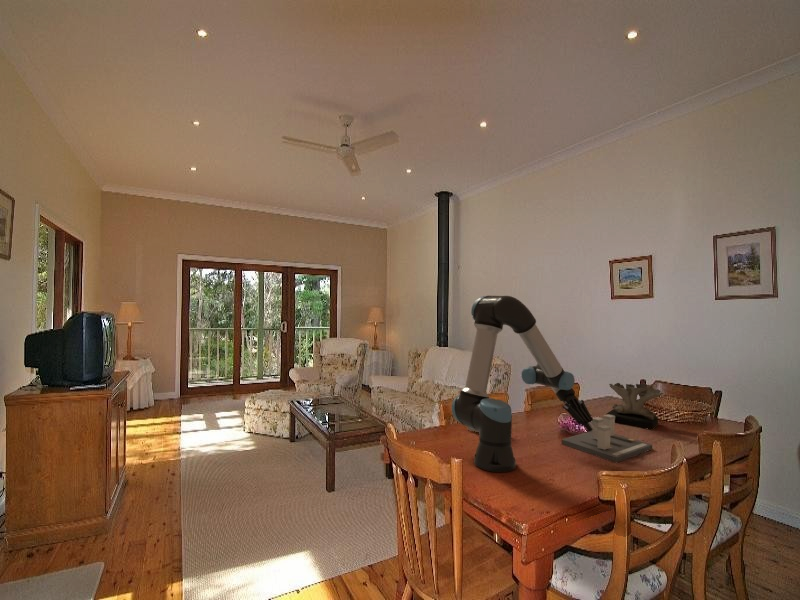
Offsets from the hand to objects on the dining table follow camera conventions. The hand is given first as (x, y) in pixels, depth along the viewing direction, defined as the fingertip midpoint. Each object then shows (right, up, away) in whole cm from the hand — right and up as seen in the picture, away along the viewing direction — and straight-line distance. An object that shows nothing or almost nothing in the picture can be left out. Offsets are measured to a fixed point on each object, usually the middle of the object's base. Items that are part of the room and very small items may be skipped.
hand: (597, 437), depth 168 cm
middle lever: (+4, -3, +9) cm, 11 cm away
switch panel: (+7, -6, +6) cm, 11 cm away
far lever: (+12, -4, +14) cm, 19 cm away
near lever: (+1, -3, -2) cm, 4 cm away
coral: (+37, -7, +39) cm, 55 cm away
